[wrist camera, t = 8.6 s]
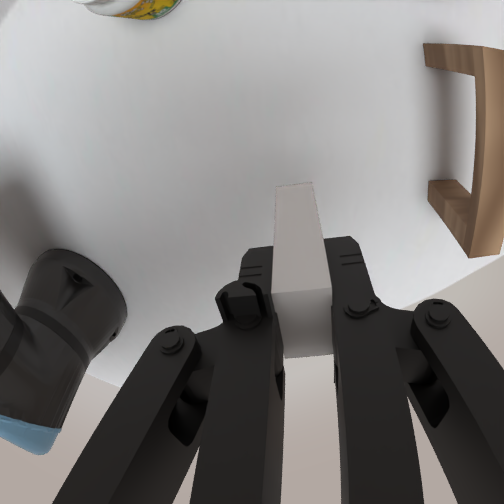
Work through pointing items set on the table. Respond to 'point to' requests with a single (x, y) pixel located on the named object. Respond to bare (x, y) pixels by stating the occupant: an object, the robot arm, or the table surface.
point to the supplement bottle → (130, 8)
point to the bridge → (486, 152)
